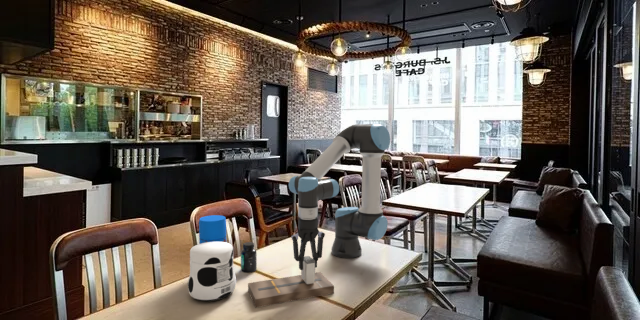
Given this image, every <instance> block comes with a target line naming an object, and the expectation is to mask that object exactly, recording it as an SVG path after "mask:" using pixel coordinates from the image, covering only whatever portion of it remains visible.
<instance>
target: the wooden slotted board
mask: <svg viewBox="0 0 640 320" xmlns="http://www.w3.org/2000/svg"><path fill="white" fill-rule="evenodd" d="M247 291H248V293H249V295H250V298H251V300H252V303H253V305H254V307H255V308H260V307H266V306H272V305H277V304H282V303H288V302H292V301H293V302H294V301H299V300H305V299H309V298H310V299H311V298H315V297H321V296H326V295H333V294H335V284H333V283H332V282H331V281H330V280H329V279H328V278H327V277H326V276H325V275H324V274H323V273H322V272H321V271H318V272H316V271H315V277H314V283H312V284H306V282H305V281H304V280H303V279H302V276H301V274H299V275H298V274H297V275H292V276H285V277H279V278H273V279H266V280H259V281H253V282H249V283H247Z"/></svg>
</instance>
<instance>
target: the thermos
mask: <svg viewBox="0 0 640 320" xmlns="http://www.w3.org/2000/svg"><path fill="white" fill-rule="evenodd" d="M198 233H199V234H198V235H199V237H198V239H199V240H198V241H199V243H198V244H201V243H206V242H227V219H226V216H224V215H219V214H218V215H217V214H216V215H215V214H213V215H212V214H211V215H206V216H202V217H200V218H199V220H198Z"/></svg>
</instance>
